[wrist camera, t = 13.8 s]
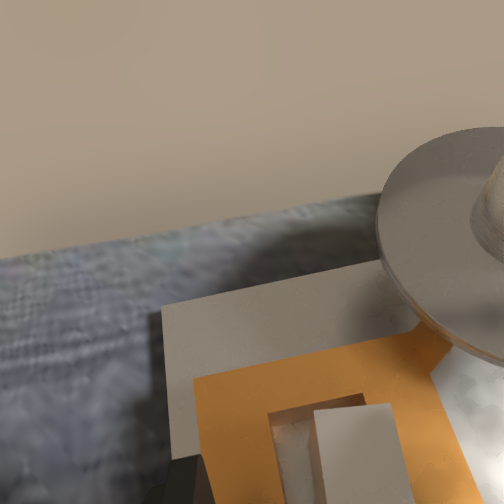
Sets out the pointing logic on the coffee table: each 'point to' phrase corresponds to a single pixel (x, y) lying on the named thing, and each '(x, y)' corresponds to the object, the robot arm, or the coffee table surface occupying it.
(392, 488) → the grey rectangular peg
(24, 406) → the coffee table surface
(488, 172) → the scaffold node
